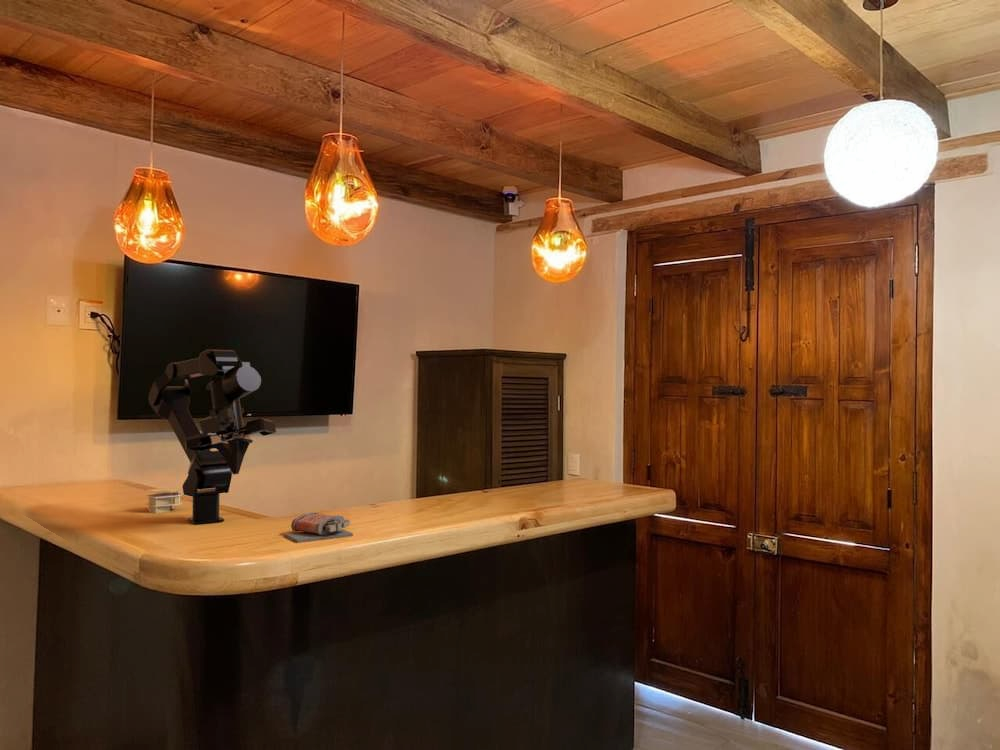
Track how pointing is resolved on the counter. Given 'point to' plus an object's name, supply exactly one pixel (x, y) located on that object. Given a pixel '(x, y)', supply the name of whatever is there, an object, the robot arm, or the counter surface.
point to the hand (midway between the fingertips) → (235, 474)
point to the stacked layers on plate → (163, 500)
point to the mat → (316, 536)
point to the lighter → (319, 523)
